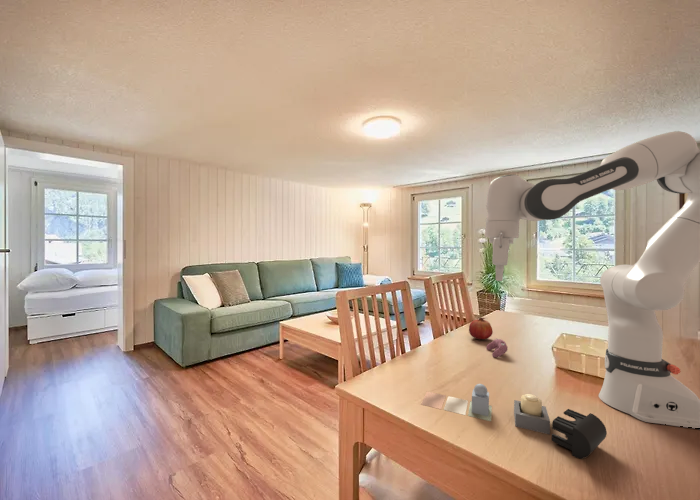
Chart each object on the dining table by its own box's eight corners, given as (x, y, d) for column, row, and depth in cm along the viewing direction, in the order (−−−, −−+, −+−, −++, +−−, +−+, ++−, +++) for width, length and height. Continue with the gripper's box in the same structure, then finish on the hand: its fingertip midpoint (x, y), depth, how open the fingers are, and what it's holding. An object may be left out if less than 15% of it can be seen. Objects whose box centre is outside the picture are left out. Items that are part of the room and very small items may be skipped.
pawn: (488, 408, 81) (489, 382, 81) (488, 416, 78) (488, 389, 78) (472, 405, 83) (473, 379, 83) (471, 412, 80) (472, 385, 79)
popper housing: (545, 421, 77) (545, 406, 77) (549, 437, 71) (550, 421, 71) (513, 414, 80) (514, 400, 80) (515, 428, 74) (515, 413, 74)
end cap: (589, 468, 61) (590, 435, 61) (550, 448, 67) (551, 418, 67) (606, 449, 67) (607, 419, 67) (568, 432, 73) (569, 404, 73)
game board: (492, 406, 84) (492, 404, 84) (492, 426, 75) (492, 423, 75) (426, 391, 92) (426, 389, 92) (418, 408, 83) (418, 405, 83)
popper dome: (540, 412, 76) (540, 394, 76) (542, 422, 73) (543, 403, 72) (520, 408, 78) (520, 390, 78) (521, 417, 74) (521, 398, 74)
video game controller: (502, 362, 119) (511, 347, 118) (491, 356, 119) (500, 341, 119) (494, 353, 129) (503, 339, 128) (484, 347, 129) (493, 333, 128)
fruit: (486, 335, 147) (486, 315, 147) (497, 342, 138) (497, 320, 137) (464, 335, 147) (465, 315, 146) (474, 342, 137) (474, 320, 137)
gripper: (515, 230, 78) (512, 284, 79) (512, 233, 97) (510, 276, 97) (488, 230, 81) (485, 281, 82) (490, 232, 100) (488, 274, 100)
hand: (499, 278), depth 90 cm, fingers open, 8 cm apart
